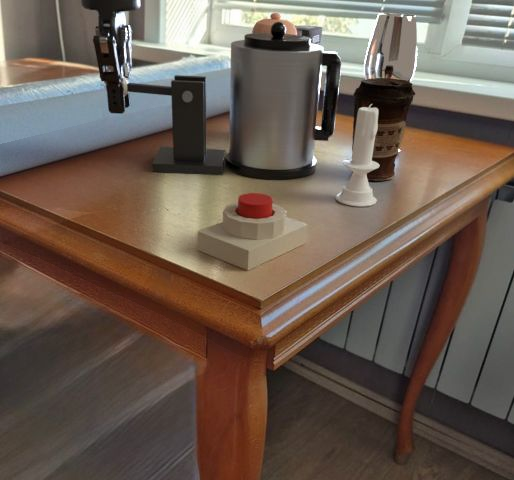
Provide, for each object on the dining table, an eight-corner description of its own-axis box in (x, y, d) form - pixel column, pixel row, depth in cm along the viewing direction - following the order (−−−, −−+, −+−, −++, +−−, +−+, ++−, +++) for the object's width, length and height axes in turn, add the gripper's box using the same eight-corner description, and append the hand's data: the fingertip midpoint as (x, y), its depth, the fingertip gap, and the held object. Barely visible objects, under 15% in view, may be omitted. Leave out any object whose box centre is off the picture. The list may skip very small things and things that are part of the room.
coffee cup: (410, 185, 86) (428, 87, 79) (354, 185, 85) (367, 86, 78) (389, 167, 94) (403, 75, 87) (337, 167, 92) (347, 74, 85)
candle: (364, 192, 83) (377, 98, 76) (384, 205, 79) (399, 108, 72) (328, 195, 81) (339, 100, 75) (347, 208, 77) (360, 109, 71)
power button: (256, 223, 62) (257, 207, 61) (230, 214, 64) (230, 198, 63) (278, 214, 64) (279, 198, 63) (252, 206, 66) (253, 190, 65)
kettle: (223, 177, 86) (225, 24, 75) (227, 151, 97) (229, 15, 87) (334, 182, 86) (352, 30, 76) (325, 155, 97) (339, 20, 87)
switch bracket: (152, 172, 86) (147, 82, 80) (160, 154, 94) (157, 71, 88) (222, 174, 87) (223, 86, 80) (225, 157, 94) (226, 75, 88)
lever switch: (104, 99, 84) (102, 74, 82) (108, 95, 87) (107, 70, 85) (197, 108, 85) (198, 83, 83) (199, 103, 87) (200, 79, 85)
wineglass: (373, 142, 106) (392, 11, 95) (410, 152, 101) (434, 16, 90) (344, 149, 101) (360, 12, 90) (381, 160, 97) (403, 17, 86)
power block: (247, 271, 61) (249, 233, 59) (197, 250, 64) (197, 214, 62) (306, 243, 67) (309, 208, 65) (258, 225, 71) (259, 192, 69)
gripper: (91, -36, 83) (103, 99, 92) (63, -34, 71) (81, 120, 80) (146, -34, 83) (153, 101, 92) (127, -31, 71) (138, 122, 80)
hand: (119, 109), depth 86 cm, fingers closed on lever switch, 3 cm apart
